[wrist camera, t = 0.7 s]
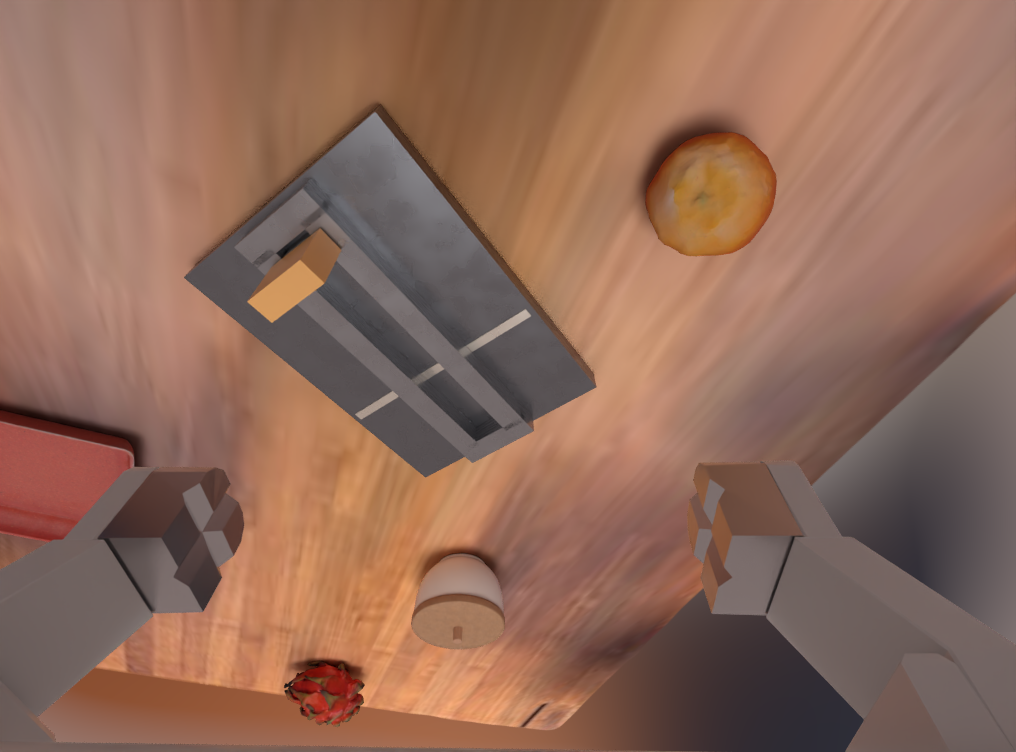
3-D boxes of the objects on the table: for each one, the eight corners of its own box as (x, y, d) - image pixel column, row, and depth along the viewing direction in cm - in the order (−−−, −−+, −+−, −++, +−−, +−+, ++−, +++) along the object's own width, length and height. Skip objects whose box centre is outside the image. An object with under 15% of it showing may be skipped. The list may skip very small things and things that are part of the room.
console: (195, 265, 44) (171, 290, 41) (380, 104, 37) (369, 119, 34) (427, 462, 58) (423, 492, 55) (593, 373, 51) (599, 401, 48)
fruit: (722, 269, 43) (708, 289, 37) (643, 206, 44) (616, 214, 38) (804, 179, 39) (806, 182, 32) (715, 112, 40) (698, 102, 33)
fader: (279, 254, 41) (246, 301, 36) (327, 216, 39) (300, 259, 34) (300, 274, 42) (271, 323, 37) (347, 238, 40) (324, 283, 35)
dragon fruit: (374, 667, 90) (303, 642, 88) (376, 681, 82) (298, 654, 80) (352, 725, 87) (277, 700, 85) (351, 745, 79) (269, 718, 77)
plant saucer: (-63, 379, 51) (-93, 403, 49) (149, 429, 55) (132, 453, 53) (-25, 500, 62) (-49, 524, 59) (151, 534, 66) (136, 559, 63)
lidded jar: (458, 600, 75) (454, 672, 67) (400, 564, 69) (389, 638, 62) (521, 570, 71) (524, 644, 63) (465, 530, 65) (460, 605, 58)
